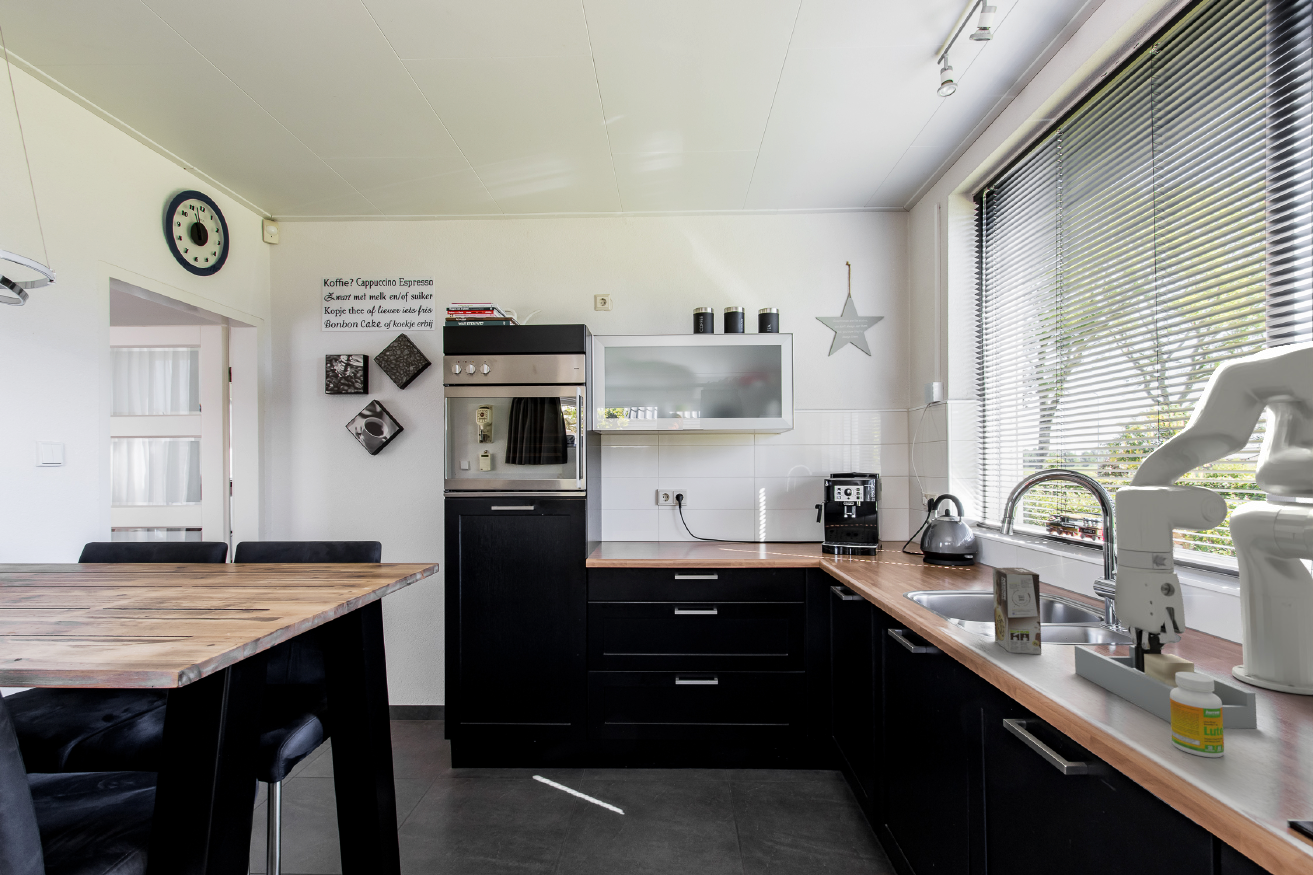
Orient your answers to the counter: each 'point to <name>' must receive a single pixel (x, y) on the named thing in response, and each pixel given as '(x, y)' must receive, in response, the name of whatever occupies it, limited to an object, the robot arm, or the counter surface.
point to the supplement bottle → (1196, 716)
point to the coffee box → (1017, 610)
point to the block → (1166, 667)
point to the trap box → (1159, 687)
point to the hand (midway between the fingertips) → (1148, 671)
